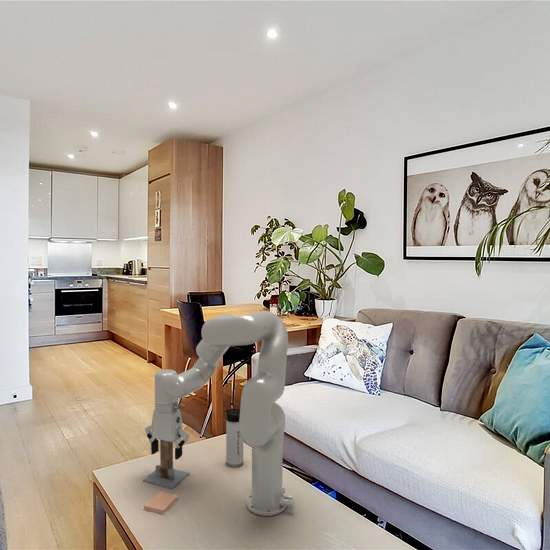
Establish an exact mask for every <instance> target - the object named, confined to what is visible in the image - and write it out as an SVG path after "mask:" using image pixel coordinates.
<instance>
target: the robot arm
mask: <svg viewBox="0 0 550 550" xmlns="http://www.w3.org/2000/svg"><path fill="white" fill-rule="evenodd" d="M200 333H201V338H202V339H201V340H200V341H199V343H198V344H197V345H196V348H195V351H196V355H197V356H198V358H197V360H196V362H195V363H194V364H193V366H192V367H191V368H190V369H188V370H187V369H186V370H185V371H182V372H180V373H177V371H176V370H173V369H171V368H170V369H168V368H167V369H159V370H158V371H156V372H155V373H154V409H153V411H152V417H151V418H152V419H151V425H148V426H147V427H145V428H144V432H145V434H146V437H147V438H148V442H149V443H150V450H151V451H150V452H151V455H155V454H156V453H158V452H160V449H159V448H160V447H159V446H160V445H159V444H160V443H159V442H160V440H164V441H169V442H173V445H174V446H175V448H174V459H175V460H179V459H180V458H181V457H182V455H183V446H184V445H185V444H186V443H187V441H188V439H189V437H190V435H189V433H187V432H186V431H184V430H183V420H182V419H183V418H182V414H181V411H180V408H181V405H180V404H178V403H179V402H178V399H182V398H185V397H187V396H189V395H191V394H193V393H195V392H196V391H199V390H200V389H201V388H203V387H204V386H205V385H206V384H207V382H208V381H209V380H210V379H211V377H212V376H213V375H214V373H215V371H216V370H217V367H218V364H219V361H220V360H221V358H222V357H223V355H225V353H226V352H227V351H228V349H229V348H231V347H233V346H234V347H235V346H236V347H237V346H248V345H253V344H255V343H257V342H259V341H261V347H260V350H259V353H258V362H257V363H258V365H257V370H256V371H257V372H256V374H255V375H254V376H252V377H251V378H249V379H248V380H247V381H246V382H245V384H244V386H243V388H242V391H241V396H240V397H241V398H240V406H239V408H240V409H239V410H240V418H239V432H240V436H241V438H242V440H243V444H245V445H246V446H247V447H250V448H251V493H250V494H249V495H248V496H247V498H246V503H245V504H246V507H247V509H248V510H249V511H250V512H251V513H253V514H255V515H259V516H263V517H271V516H275V515H278V514H281V513H283V512H284V511H285V510H286V508H287V507H290V508H294V507H295V504H296V503H295V502H296V501H295V500H294V496H293V495H288V494H287V493H286V488H283V455H284V454H283V453H284V437H285V435H284V434H285V429H286V415H285V414H286V413H285V411H284V409H283V408H282V406H281V405H279V404H278V403H276V401H278V400H279V399H280V398H281V397H282V396H283V394H284V391H285V388H286V386H285V385H286V372H287V371H286V370H287V360H288V359H287V357H288V349H289V348H288V347H289V336H288V335H289V334H288V330H287V326H286V324H285V323H284V321H283V320H282V319H281V318H280V317H279V316H278V315H277V314H276V313H274V312H272V311H268V310H259V311H256V312H252V313H249V314H244V315H239V316H234V315H232V314H222V315H218V316H216V317H215V316H214V317H211V318H209V319H208V320H206V321H205V322H204V324H203V325H202V328H201V332H200Z"/></svg>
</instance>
